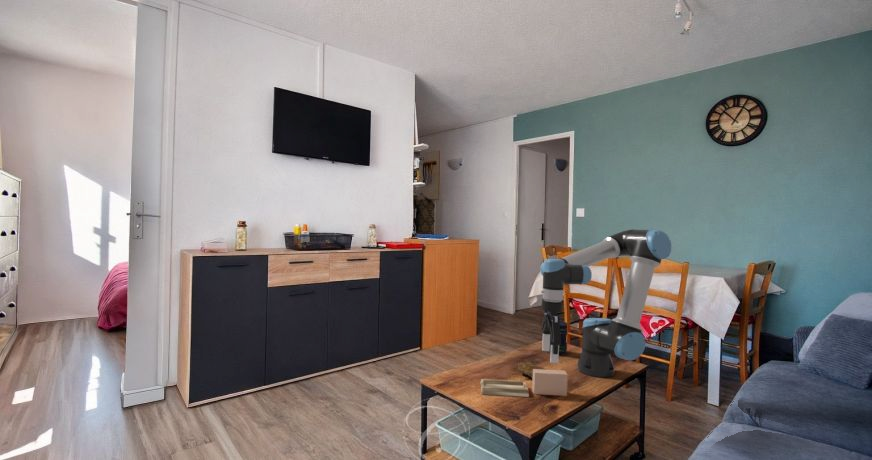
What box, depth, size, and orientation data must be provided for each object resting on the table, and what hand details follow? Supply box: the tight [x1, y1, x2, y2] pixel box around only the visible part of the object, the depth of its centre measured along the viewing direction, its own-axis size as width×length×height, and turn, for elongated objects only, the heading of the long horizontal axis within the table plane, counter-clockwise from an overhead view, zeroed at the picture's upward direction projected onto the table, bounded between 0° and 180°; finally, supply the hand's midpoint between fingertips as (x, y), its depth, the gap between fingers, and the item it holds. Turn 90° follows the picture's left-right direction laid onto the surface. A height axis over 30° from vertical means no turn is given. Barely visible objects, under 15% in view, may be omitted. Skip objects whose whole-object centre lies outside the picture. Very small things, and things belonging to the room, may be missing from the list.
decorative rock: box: [517, 361, 548, 380], centre depth 165 cm, size 11×4×15 cm
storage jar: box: [546, 320, 568, 356], centre depth 196 cm, size 10×10×15 cm
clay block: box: [531, 369, 569, 397], centre depth 147 cm, size 12×4×8 cm, turn 87°
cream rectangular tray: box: [480, 378, 530, 398], centre depth 148 cm, size 10×17×2 cm, turn 87°
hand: (549, 356), depth 147 cm, fingers open, 13 cm apart
